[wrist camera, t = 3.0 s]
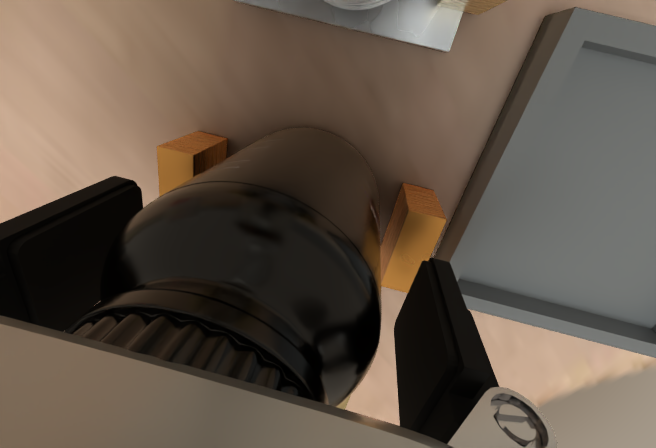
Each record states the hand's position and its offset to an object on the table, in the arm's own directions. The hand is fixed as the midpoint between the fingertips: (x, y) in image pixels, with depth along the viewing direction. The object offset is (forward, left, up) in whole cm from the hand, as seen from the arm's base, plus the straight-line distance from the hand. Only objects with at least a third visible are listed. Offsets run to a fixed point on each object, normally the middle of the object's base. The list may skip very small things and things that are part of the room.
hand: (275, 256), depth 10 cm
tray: (-3, +12, -5) cm, 14 cm away
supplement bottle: (0, 0, -6) cm, 6 cm away
